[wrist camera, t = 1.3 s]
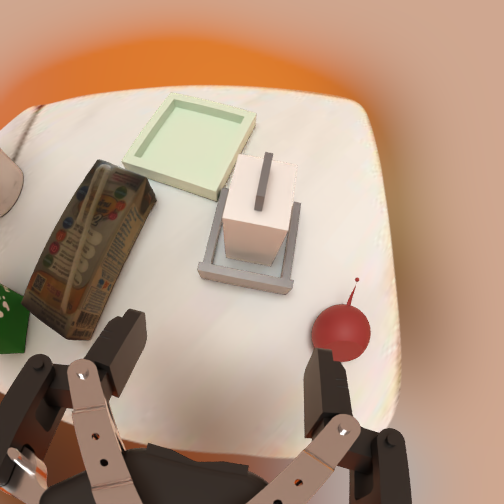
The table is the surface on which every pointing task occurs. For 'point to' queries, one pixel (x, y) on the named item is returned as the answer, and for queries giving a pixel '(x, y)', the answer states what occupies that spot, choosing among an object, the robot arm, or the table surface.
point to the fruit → (342, 331)
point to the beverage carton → (88, 250)
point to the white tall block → (258, 208)
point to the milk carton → (12, 322)
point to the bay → (245, 277)
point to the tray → (191, 144)
